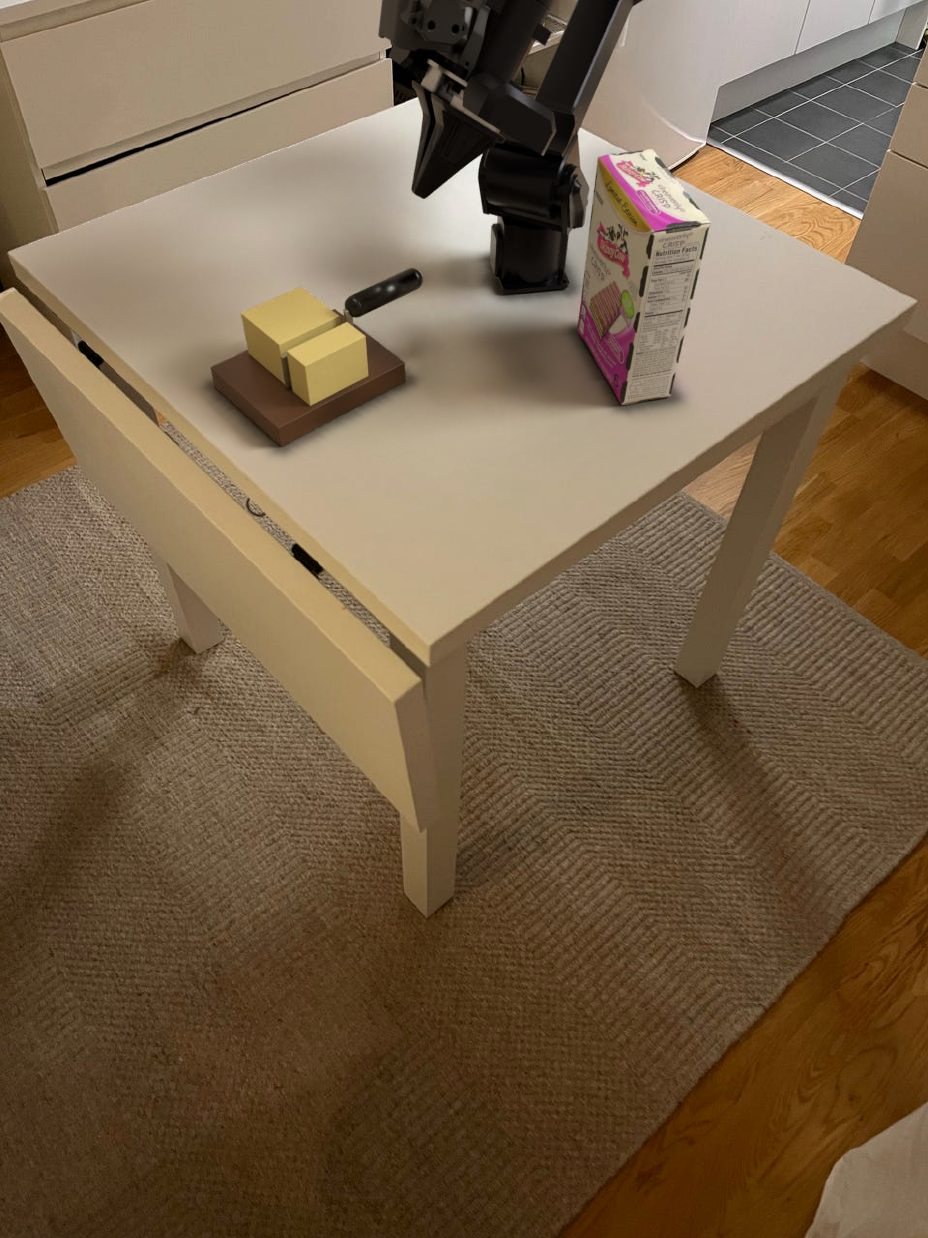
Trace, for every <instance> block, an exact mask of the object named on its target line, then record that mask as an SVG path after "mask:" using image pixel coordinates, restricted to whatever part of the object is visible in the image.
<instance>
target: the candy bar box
mask: <svg viewBox="0 0 928 1238" xmlns="http://www.w3.org/2000/svg"><path fill="white" fill-rule="evenodd" d="M596 160H597V161H596V171H595V178H594V179H595V180H594V187H593V188H594V189H593V194H592V195H593V196H592V206H591V214H590V221H589V229H588V238H587V248H586V254H585V255H586V256H585V263H584V273H583V281H582V289H581V298H580V306H579V313H578V320H577V328H576V331H577V332H578V334H579V336H580V337H581V339H582V341H583V342H584V344H585V346H586V347H587V349H588V351H589V352H590V354H591V356H592V357H593V359H594V361H595V363H596V364H597V366H598V368H599V369H600V371H601V372H602V375H603V376H604V377H605V380H606V381H607V382H608V384H609V386H610V387H611V390H612V392H613V393H614V395H615V396H616V399H617V400H618V401H619V403H620V405H621V406H627V405H628V406H629V405H635V404H638V403H642V402H647V401H653V400H659V399H663V398H664V399H665V398H669V397H670V398H671V396H672V393H673V392H672V391H673V387H674V383H675V379H676V374H677V372H678V371H677V370H678V366H679V361H680V357H681V353H682V347H683V344H684V339H685V335H686V331H687V326H688V322H689V318H690V314H691V309H692V305H693V301H694V296H695V291H696V287H697V282H698V279H699V278H698V277H699V274H700V269H701V266H702V261H703V256H704V251H705V248H706V244H707V239H708V235H709V230H710V227H711V225H712V224H711V223H712V222H711V220H710V219H709V218H708V217H707V216H706V214H705V213H704V212H703V211H702V209H700V207H699V206H698V204H697V203H696V202H695V201H694V199H693V198H692V197H691V196H690V194H688V192H687V190H686V189H685V188H684V187H683V186H682V184H681V183H680V182H679V181H678V180H677V178H676V176H674V174H673V173H672V172H671V170H670V169H669V168H668V166H666V164H665V163H664V162H663V160H662V159H661V158H660V157H659V155H658V154H657V153H656V152H655V150H654V149H653V148H649V149H642V150H635V151H625V152H620V153H609V154H605V155H601V156H598V157H597V159H596Z"/></svg>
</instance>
